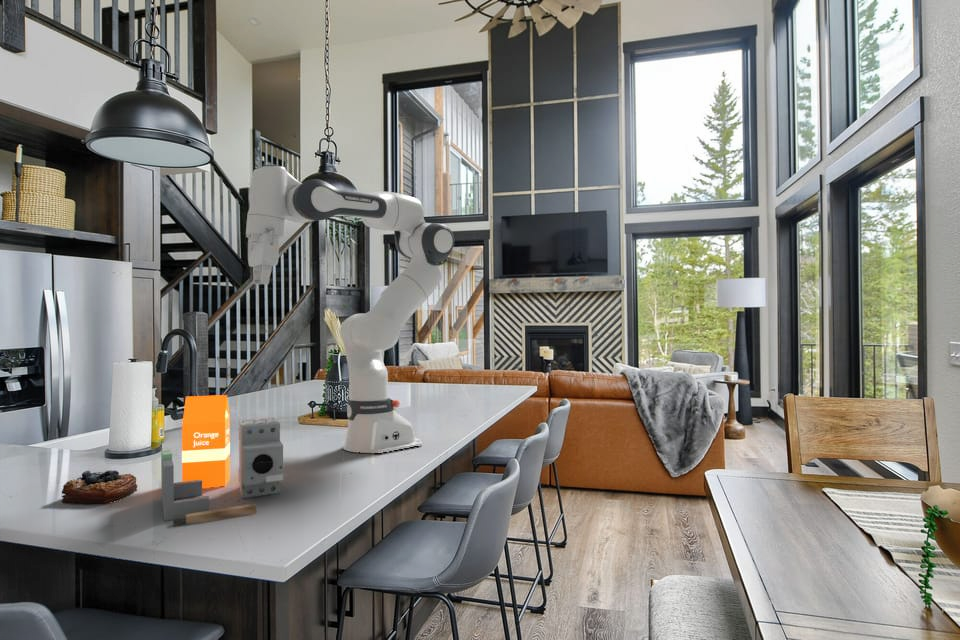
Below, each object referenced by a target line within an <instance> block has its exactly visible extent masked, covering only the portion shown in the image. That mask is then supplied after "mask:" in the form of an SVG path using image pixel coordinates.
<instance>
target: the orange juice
mask: <svg viewBox="0 0 960 640" xmlns="http://www.w3.org/2000/svg"><path fill="white" fill-rule="evenodd" d="M228 399H229V398H228V395H227V394H222V395H220V394H215V395H195V396H189V395H188V396H185V401H184V402H185V403H184V410H183V415H182V423H181V477H182V478H181V482H185V481H192V480H200V479H202V489H211V488H210V487H214V488H221V487H220V486H225V487H226V486H227V485H228V482H229V481H230V478H231V476H230V475H231V470H230V469H231V466H230V465H231V464H230V463H231V461H230V459H231V458H230V457H231V456H230V455H231V454H230V453H231V442H230V441H231V439H230V438H231V437H230V435H231V434H230V433H231V431H230V429H231V424H230V422H231V420H230V409H229V408H230V407H229V401H228Z"/></svg>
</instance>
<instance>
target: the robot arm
mask: <svg viewBox="0 0 960 640" xmlns="http://www.w3.org/2000/svg"><path fill="white" fill-rule="evenodd" d="M249 184H250V185H249V191H248V202H249V208H248V211H247V214H246V215H247V218H246V229H245V237H246V238H247V240H248V241H247V261H248V267H250V268H251V267H252V273H253V280H252V281H253V285H257V286H258V285H259V286H260V285H269V284H270V279H271V278H270V277H271V273H272V272H273V271H272V270H273V269H272V268H273V267H274V266H278V263H279V254H280V239H281V240H282V239H284V236H285V235H284V232H285V220H288V221H291V222H292V223H293V222H294V223H296V224H304V223H310V222H315V221H324V220H327V219H330V218H332V217H334V216H337V215H338V216H339V215H340V216H348V217H349V216H350V217H357V218H360V219H361V221H362V223H363V225H365V226H366V227H368V228H370V229H375V230H381V231H390V232H391V231H394V232H393V234H394V245H395V248H396V251H397V252H398V253H399V254H400V255H401V256H402V257H405V258H407V259H410V261H409V263H408V266H406V268H405V269H404V270H403V271H402V272H401V273H400V274H398V276H397V277H396V278H395V279H394V280H393V281H391V283H390V284H389V285H388V286H387V287H386V288H384V290H383V291H381V293H380V297H379V298H378V300H377V302H376V303H375V304H374V306H373V307H372V308H371V309H370V310H369V311H367V312H366V313H354V314H352V315H351V316H349V317H347V318H346V319H345V320H344V321H343V322H342V323H341V325H340V326H339V327H340V329H339V336H340V339H341V341H342V343H343V347H344V353H345V358H346V362H347V369H348V386H349V387H348V390H349V391H348V393H349V394H348V399H347V406H346V408H347V409H346V410H347V411H346V412H347V413H346V415H347V419H348V422H347V423H348V424H347V432H346V437H345V442H344V445H343V449H344V450H345V451H346V452H347V451H348V452H351V453H359V452H360V453H362V454H363V453H364V454H374V453H382V454H384V453H383V452H387V453H390V452H389V451H392V452H394V451H393V450H398V449H403V448H408V447H413V446H418V445H421V444H422V445H423V441H422V440H421V439H419V438H417V437H415V433H414V427H413V425H412V423H411V422H410V421H409V420H407V419H406V418H404V417H403V416H402V415H401V414H399V413H398V412H397V411H395V408H399V406H400V404H401V402H400V401H399V400H398V399H391V398H389V372H388V369H387V367H386V366H385V363H384V359H383V355H382V352H384V351H385V352H386V351H388V350H389V349H392V348H393V347H394V346H395V345H396V344H397V343H398V341H399V339H400V336H401V335H400V334H401V331H402V329H403V328H404V326H405V324H406V323H407V322H408V320H409V319H410V318H411V317H412V316H413V314H414V313H415V312H416V311H417V310H419V308H420V307H421V306H422V305H423V303H425V302H426V301H427V300H428V299H429V298H430V296H431V295H432V294H433V293H434V291H435V290H436V289H437V287H438V286H439V284H440V283H441V280H442V277H443V272H442V268H441V267H440V266H442V265H444V264H445V263H446V262H447V259H448V257H449V256H450V255H451V253H452V252H453V250H454V246H455V236H454V233H453V231H452V229H450V227H448V226H447V225H445V224H443V223H438V222H433V223H432V222H426V220H425V218H424V217H425V209H424V205H423V204H422V202H421V201H420V200H419V199H418V198H417V197H414V196H411V195H407V194H403V193H398V192H393V191H380V190H379V191H377V190H376V191H367V192H359V191H358V192H357V191H352V190H346V189H345V190H344V189H340V188H338V187H335V186H333V185H332V184H330V183H329V182H327V181H325V180H322V179H319V178H312V179H307V180H305V181H304V182H300V181H299V180H297V179H296V178H295V177H293V175H291V174H290V173H289V172H288V171H287V169H286V168H285V167H284V166H283V165H282V166H281V165H278V164H277V165H276V164H267V165H265V164H264V165H261V166H259V167H256V168H255V169H254V170H253V171H252V174H251V178H250V183H249ZM403 450H404V449H403ZM398 451H399V450H398ZM360 453H359V454H360Z"/></svg>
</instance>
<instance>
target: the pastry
mask: <svg viewBox="0 0 960 640" xmlns="http://www.w3.org/2000/svg"><path fill="white" fill-rule="evenodd" d="M137 490H138V484H137V477H136V476H134V474H131V473H125V474H124V473H122V474H120V472H119V471H118V470H111V469H110V470H106V471H104V472H102V471H96V472H91V470H86V471H84V472H82V473H81V476H79V477H77V479H75V478H73V479H70V480H68V481H67V482H66V483H64V485H63V487H62V490H61V494H62V496H61V498H62V499H61V502H62V504H69V503H70V504H71V505H72V504H73V505H86V504H87V506H90V505H89V504H91V505H92V504H103V505H105V504H106V505H109V504H111V503H110V502H112V503H115V502H114V501H116V502H118V501H121V500H123V498H124V499H126V498H128V497H131V495H133V494H134V493H135V492H137ZM127 496H128V497H127ZM125 497H126V498H125ZM120 499H121V500H120ZM117 500H118V501H117ZM108 503H109V504H108Z"/></svg>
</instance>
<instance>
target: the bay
mask: <svg viewBox="0 0 960 640" xmlns="http://www.w3.org/2000/svg"><path fill="white" fill-rule="evenodd" d="M160 454H161V456H160V457H161V459H160V461H161V465H160V466H161V473H160V474H161V476H160V477H161V483H160V484H161V503H162V504H161V505H162V506H161V507H162V512H163V513H162V514H163V518H164V522H166V521H171V520H173V518H174V517H180V516H186V515H185V514H190V513H197V512H203V511H210V496H209V495H206V496H205V495H204V496H203V488H202V479H200V480H192V481H185V482H182V481H179V482H174V481H175V479H174V477H175V476H174V475H175V473H174V470H175V469H174V462H173V452H172V451H171V450H170V449H167V450H161V453H160ZM199 496H200V497H199ZM192 497H193V498H192ZM176 499H177V500H176Z"/></svg>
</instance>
